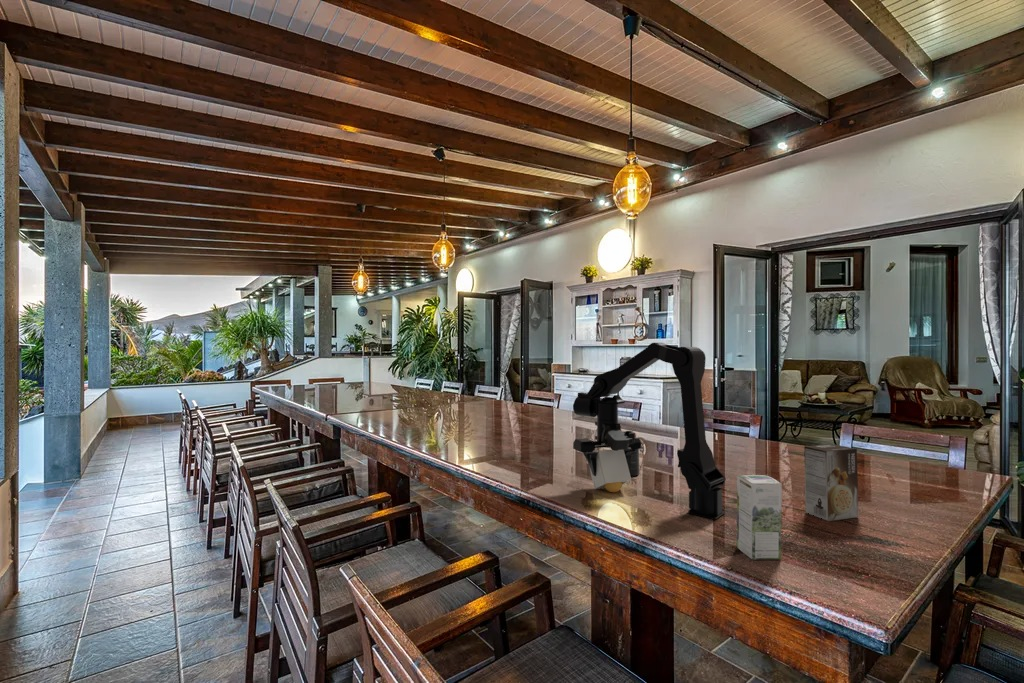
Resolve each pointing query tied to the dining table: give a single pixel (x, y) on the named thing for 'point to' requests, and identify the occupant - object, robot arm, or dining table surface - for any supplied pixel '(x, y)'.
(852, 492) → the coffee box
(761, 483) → the syrup box
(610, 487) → the ball
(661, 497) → the dining table surface
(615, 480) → the gray cube
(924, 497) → the dining table surface
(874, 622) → the dining table surface
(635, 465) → the supplement bottle
